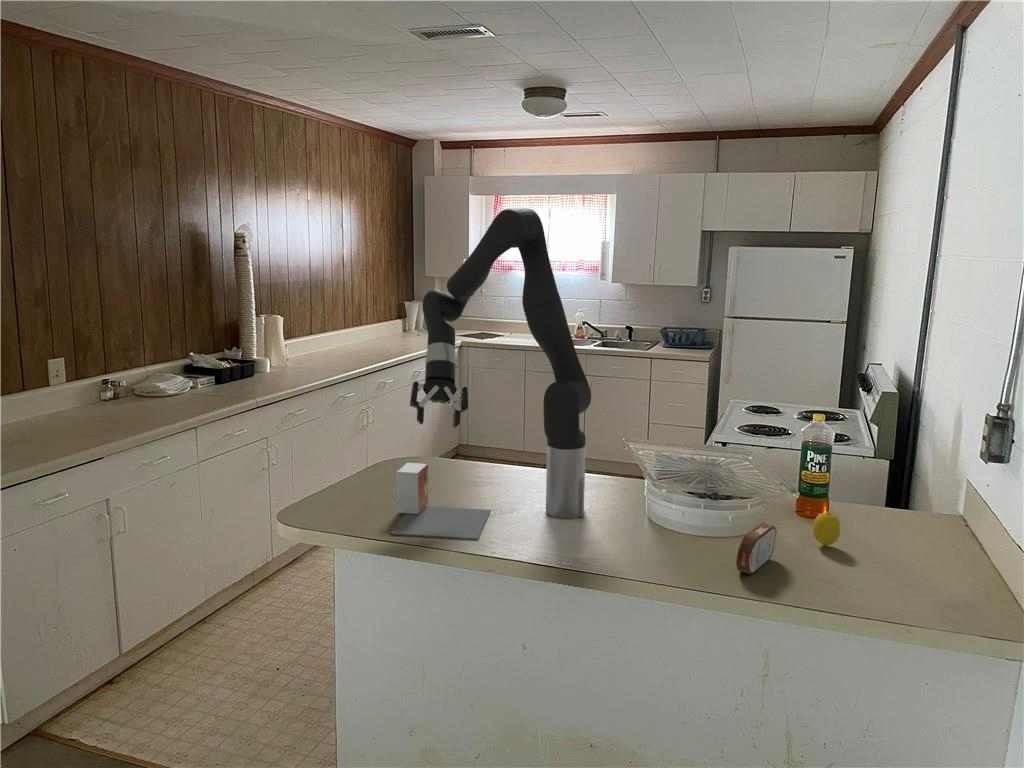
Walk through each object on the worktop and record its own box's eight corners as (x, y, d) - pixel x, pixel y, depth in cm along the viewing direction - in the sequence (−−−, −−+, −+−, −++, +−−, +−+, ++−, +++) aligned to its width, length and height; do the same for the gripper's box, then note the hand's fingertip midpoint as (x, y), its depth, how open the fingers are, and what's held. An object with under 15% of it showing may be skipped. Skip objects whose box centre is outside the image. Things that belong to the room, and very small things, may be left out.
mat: (490, 511, 187) (490, 509, 186) (477, 540, 169) (478, 538, 169) (411, 507, 189) (411, 505, 189) (390, 534, 172) (390, 533, 171)
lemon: (822, 552, 164) (825, 517, 162) (806, 542, 169) (809, 508, 168) (844, 550, 165) (847, 515, 164) (827, 540, 171) (830, 506, 169)
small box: (418, 515, 182) (418, 473, 180) (396, 513, 184) (395, 471, 182) (428, 503, 190) (428, 463, 188) (407, 502, 191) (406, 461, 189)
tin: (762, 553, 163) (765, 516, 162) (777, 557, 161) (780, 519, 160) (733, 577, 152) (736, 537, 150) (748, 581, 150) (751, 541, 148)
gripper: (415, 355, 188) (412, 418, 182) (471, 361, 192) (470, 423, 186) (410, 366, 194) (407, 427, 189) (464, 372, 198) (462, 432, 193)
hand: (438, 425), depth 187 cm, fingers open, 8 cm apart
